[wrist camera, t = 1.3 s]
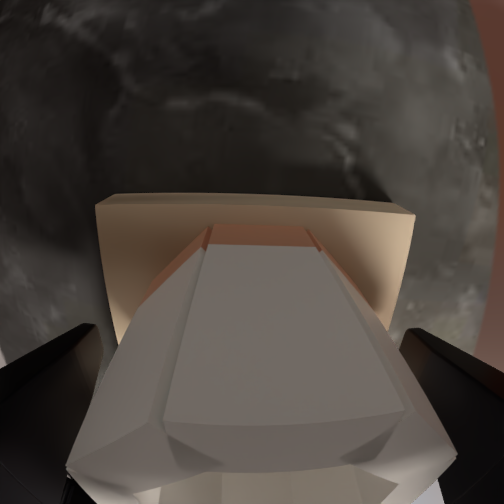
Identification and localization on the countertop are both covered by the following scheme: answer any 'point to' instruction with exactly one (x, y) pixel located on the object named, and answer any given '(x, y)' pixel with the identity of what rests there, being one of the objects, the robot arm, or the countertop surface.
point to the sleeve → (258, 387)
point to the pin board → (248, 213)
